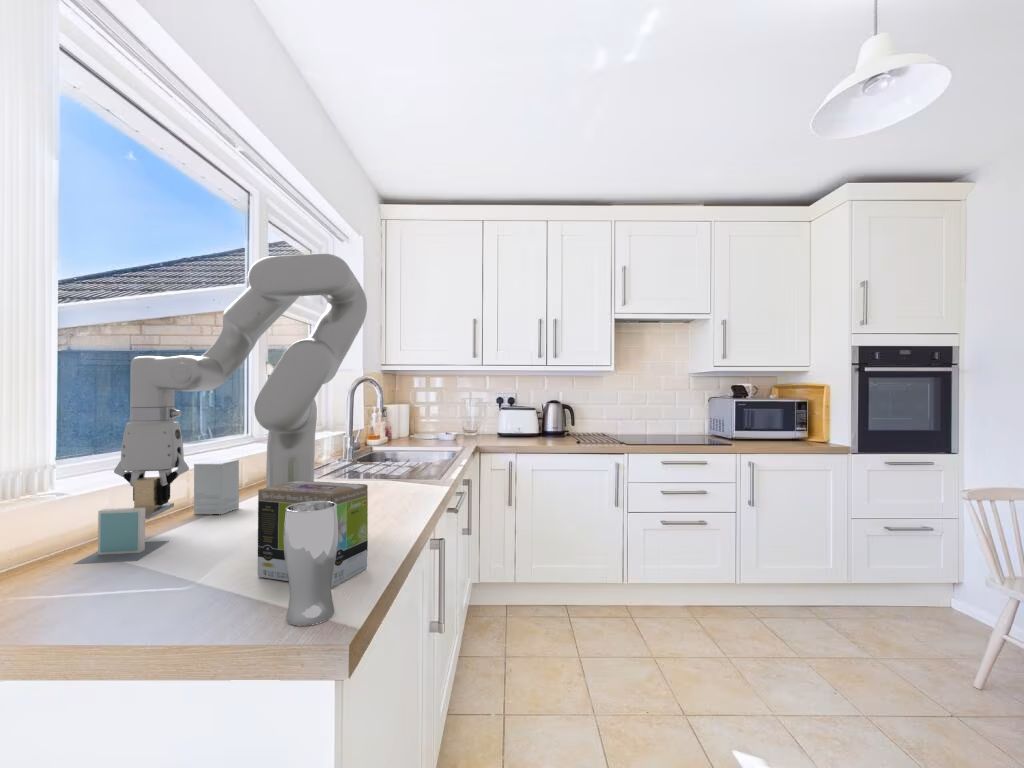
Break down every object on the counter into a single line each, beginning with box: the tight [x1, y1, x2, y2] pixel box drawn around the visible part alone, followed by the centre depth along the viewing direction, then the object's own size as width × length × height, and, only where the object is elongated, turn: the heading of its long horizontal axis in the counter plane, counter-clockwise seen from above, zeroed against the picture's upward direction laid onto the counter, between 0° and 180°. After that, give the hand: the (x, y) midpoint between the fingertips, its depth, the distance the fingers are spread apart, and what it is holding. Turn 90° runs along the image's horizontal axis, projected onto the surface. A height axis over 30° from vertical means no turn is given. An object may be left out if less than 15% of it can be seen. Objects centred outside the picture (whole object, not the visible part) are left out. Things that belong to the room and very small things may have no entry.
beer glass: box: [283, 501, 338, 627], centre depth 69 cm, size 7×7×15 cm
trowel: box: [133, 476, 175, 520], centre depth 103 cm, size 10×6×7 cm, turn 10°
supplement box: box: [193, 459, 240, 516], centre depth 128 cm, size 7×7×13 cm
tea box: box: [257, 480, 369, 589], centre depth 85 cm, size 15×10×15 cm, turn 71°
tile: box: [97, 507, 146, 555], centre depth 95 cm, size 2×7×8 cm, turn 101°
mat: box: [73, 540, 170, 565], centre depth 95 cm, size 10×12×1 cm
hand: (151, 503), depth 105 cm, fingers closed on trowel, 3 cm apart
